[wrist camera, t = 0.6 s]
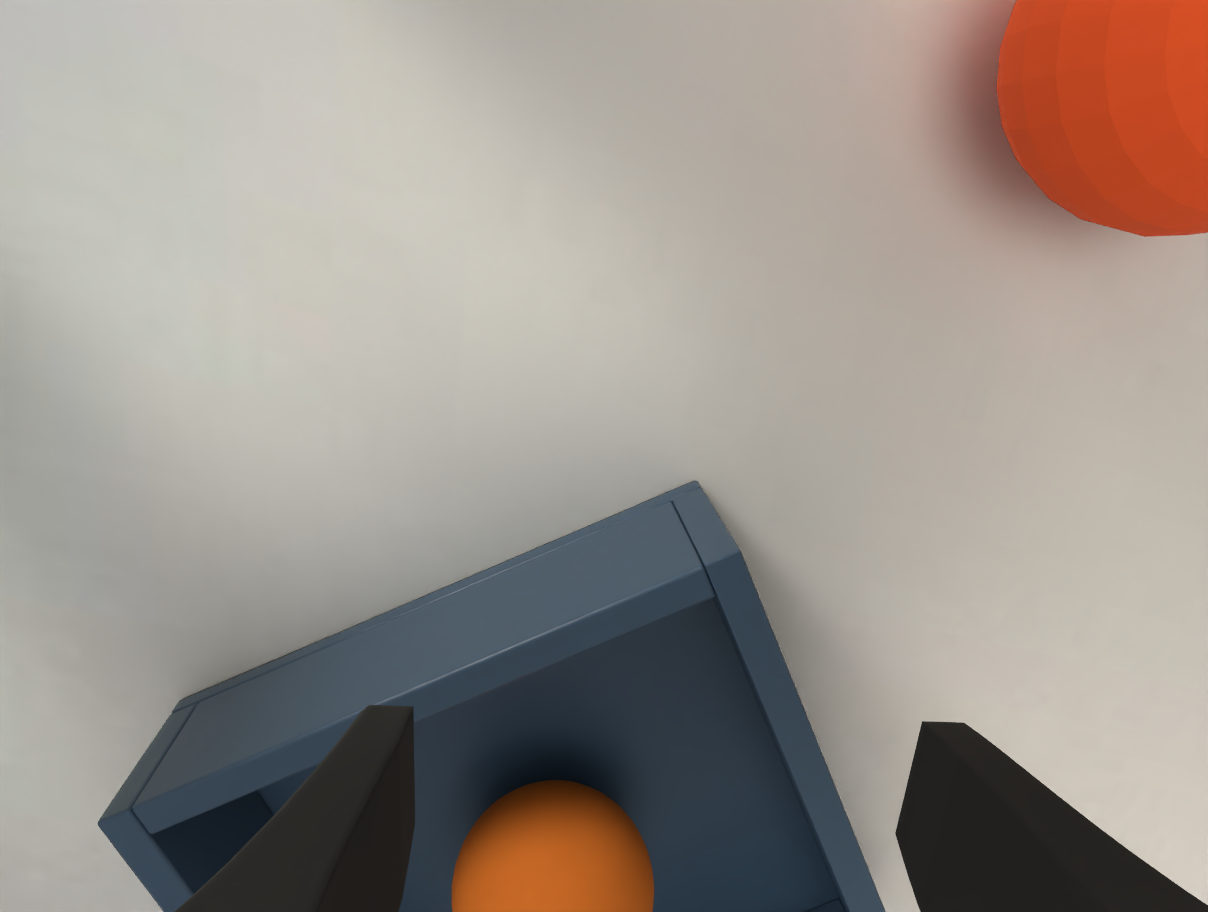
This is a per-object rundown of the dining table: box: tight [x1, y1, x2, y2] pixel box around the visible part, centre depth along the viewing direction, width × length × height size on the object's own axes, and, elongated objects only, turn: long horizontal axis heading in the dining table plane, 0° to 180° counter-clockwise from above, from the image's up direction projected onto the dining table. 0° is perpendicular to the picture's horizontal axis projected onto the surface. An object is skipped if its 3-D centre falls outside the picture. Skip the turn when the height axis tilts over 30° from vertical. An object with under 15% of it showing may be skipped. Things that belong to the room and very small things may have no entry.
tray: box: [98, 481, 885, 912], centre depth 22 cm, size 15×15×5 cm
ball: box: [452, 780, 654, 912], centre depth 21 cm, size 5×5×5 cm
